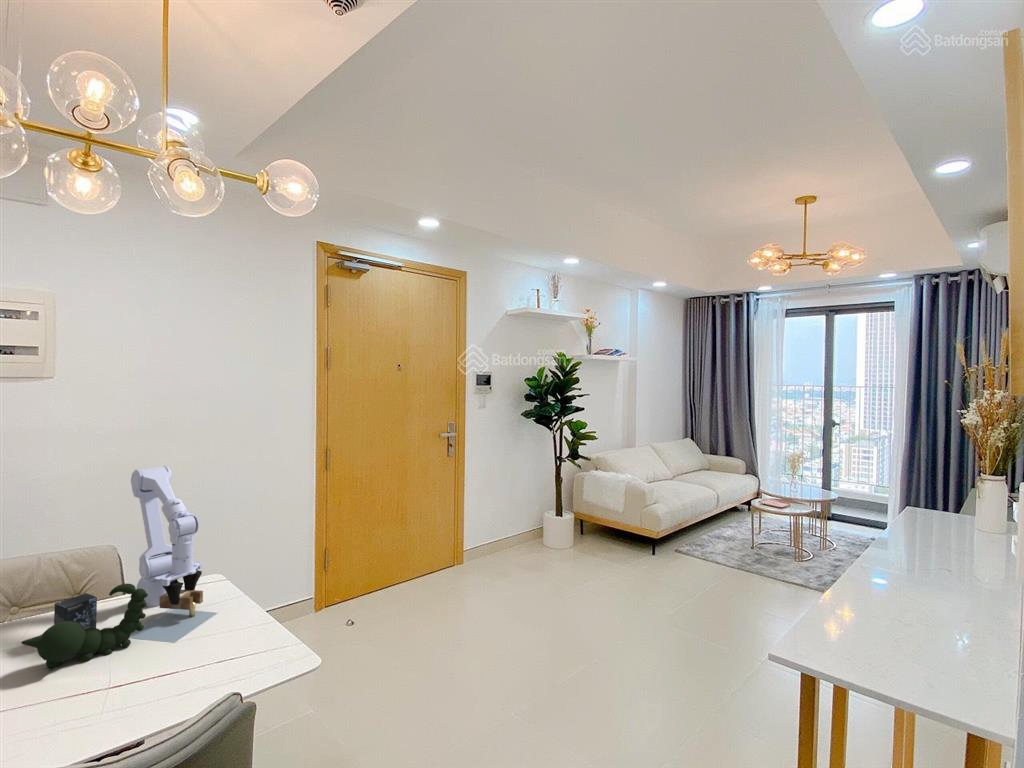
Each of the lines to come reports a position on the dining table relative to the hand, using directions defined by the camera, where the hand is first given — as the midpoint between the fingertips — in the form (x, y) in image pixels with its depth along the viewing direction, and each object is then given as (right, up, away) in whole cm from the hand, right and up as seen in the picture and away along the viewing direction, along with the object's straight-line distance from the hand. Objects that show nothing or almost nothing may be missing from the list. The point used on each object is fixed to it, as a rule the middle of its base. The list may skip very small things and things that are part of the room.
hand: (182, 599), depth 160 cm
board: (+1, -6, -5) cm, 8 cm away
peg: (+3, -6, 0) cm, 7 cm away
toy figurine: (-10, -6, -23) cm, 26 cm away
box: (-22, -5, -13) cm, 26 cm away
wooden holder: (0, -2, 0) cm, 2 cm away
